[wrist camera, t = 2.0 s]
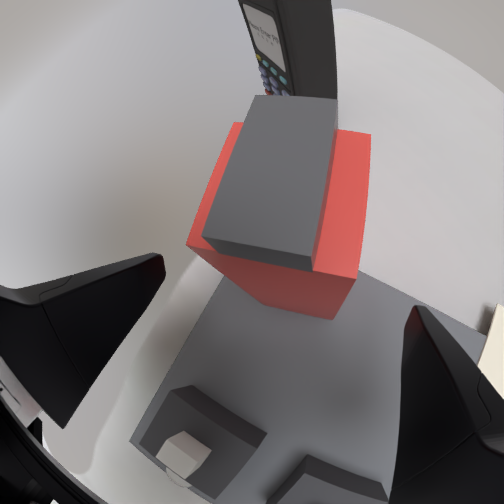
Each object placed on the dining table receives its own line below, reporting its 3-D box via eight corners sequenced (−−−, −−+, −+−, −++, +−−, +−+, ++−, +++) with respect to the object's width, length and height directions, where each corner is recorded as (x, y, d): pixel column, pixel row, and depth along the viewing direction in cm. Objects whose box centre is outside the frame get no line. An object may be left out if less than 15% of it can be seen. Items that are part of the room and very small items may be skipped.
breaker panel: (410, 556, 7) (423, 593, 1) (139, 437, 17) (86, 454, 11) (543, 343, 11) (590, 334, 5) (275, 204, 21) (258, 152, 15)
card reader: (262, 95, 26) (221, -26, 12) (294, 83, 26) (267, -36, 12) (302, 147, 23) (270, -16, 9) (340, 132, 22) (332, -24, 9)
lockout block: (332, 321, 16) (363, 266, 5) (263, 305, 17) (163, 229, 6) (346, 251, 17) (374, 105, 6) (280, 239, 19) (223, 96, 7)
